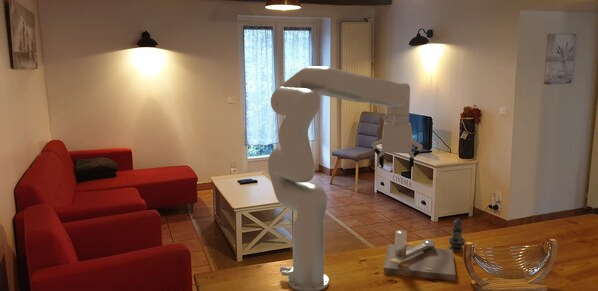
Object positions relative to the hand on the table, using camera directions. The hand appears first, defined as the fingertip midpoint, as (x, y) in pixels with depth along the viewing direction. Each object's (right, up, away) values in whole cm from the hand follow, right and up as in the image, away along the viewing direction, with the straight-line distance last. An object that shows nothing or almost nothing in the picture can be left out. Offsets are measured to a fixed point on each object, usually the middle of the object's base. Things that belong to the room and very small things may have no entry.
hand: (396, 168), depth 165 cm
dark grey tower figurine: (+23, -30, +6) cm, 38 cm away
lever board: (+6, -32, -6) cm, 33 cm away
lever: (+5, -28, -5) cm, 29 cm away
